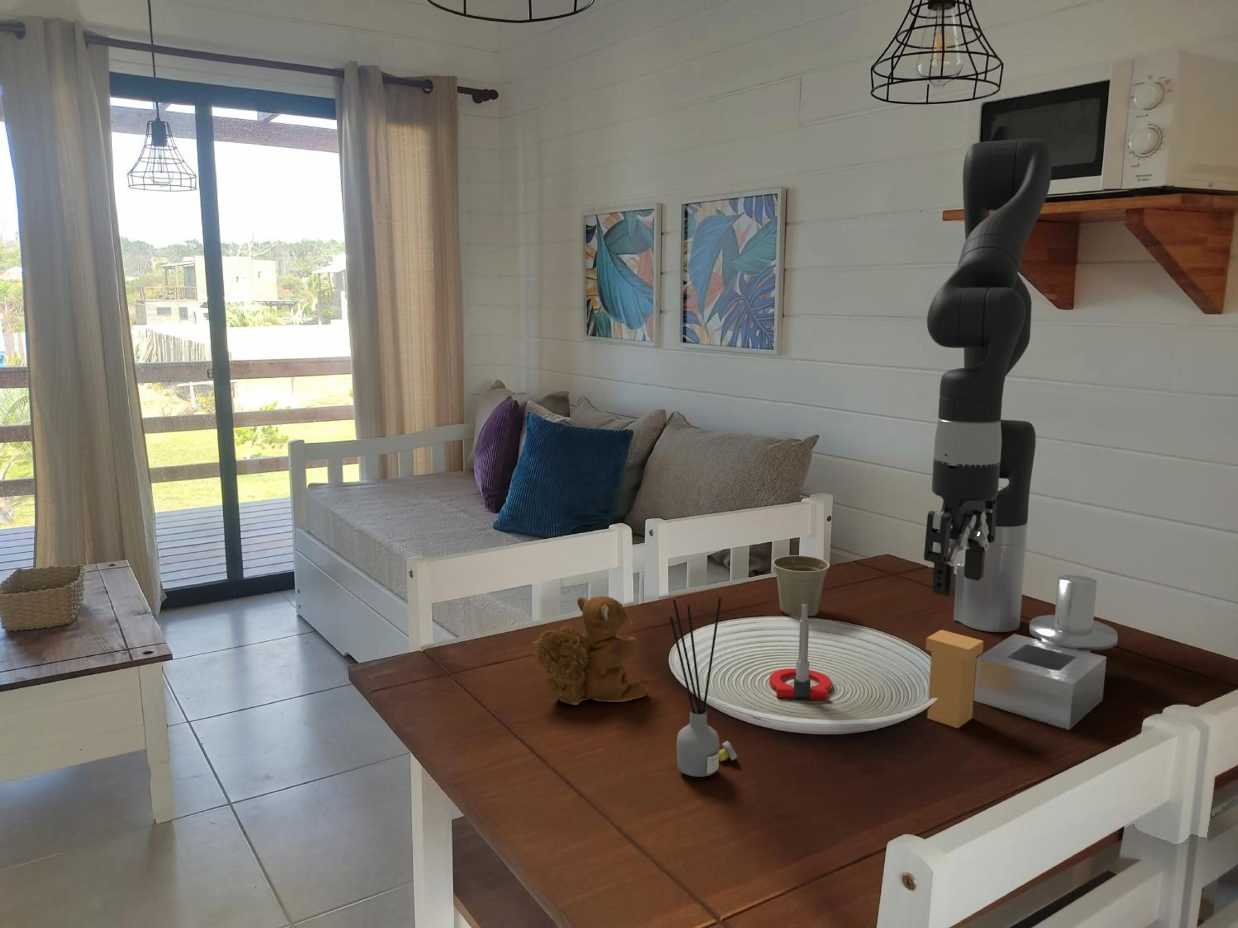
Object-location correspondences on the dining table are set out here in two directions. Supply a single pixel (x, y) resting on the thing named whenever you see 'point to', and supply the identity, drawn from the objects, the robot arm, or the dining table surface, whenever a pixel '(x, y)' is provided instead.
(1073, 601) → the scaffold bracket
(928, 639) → the wedge pin
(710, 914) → the dining table surface
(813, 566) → the flower pot
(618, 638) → the stuffed squirrel
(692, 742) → the reed diffuser
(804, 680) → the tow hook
